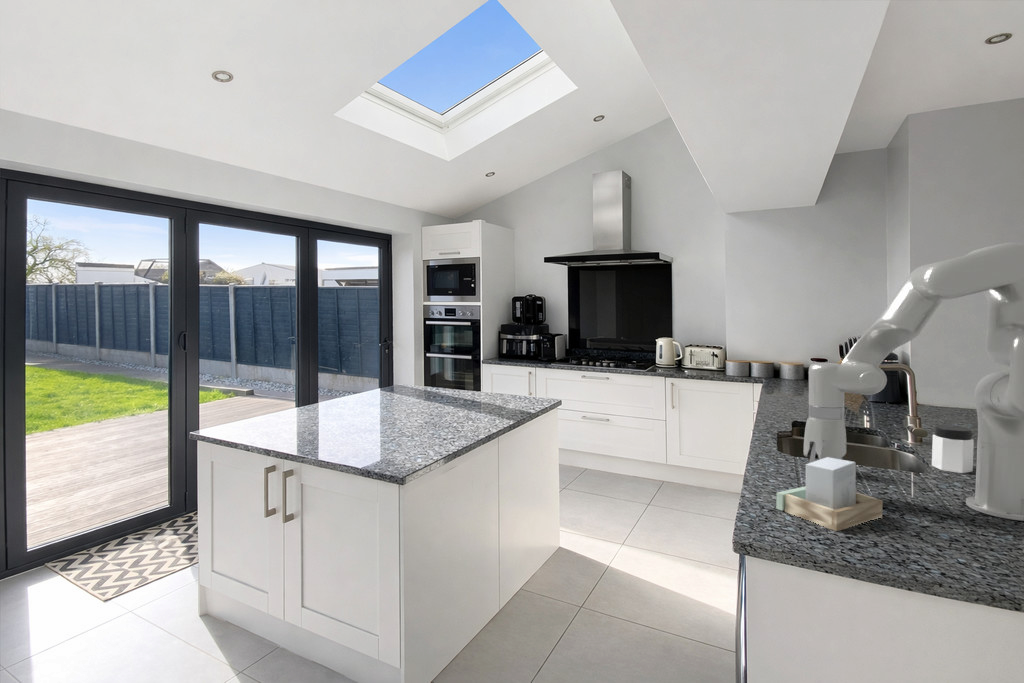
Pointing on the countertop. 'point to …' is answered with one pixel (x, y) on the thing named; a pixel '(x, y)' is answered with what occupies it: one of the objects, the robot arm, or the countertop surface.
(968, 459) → the jar
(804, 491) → the gate
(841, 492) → the skincare box
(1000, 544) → the countertop surface
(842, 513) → the wooden tray
